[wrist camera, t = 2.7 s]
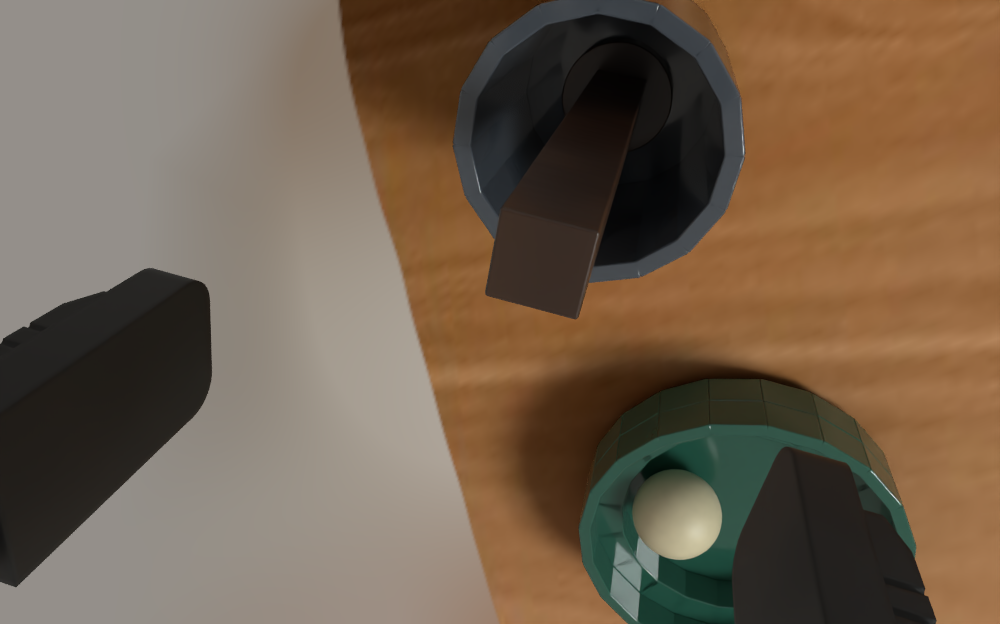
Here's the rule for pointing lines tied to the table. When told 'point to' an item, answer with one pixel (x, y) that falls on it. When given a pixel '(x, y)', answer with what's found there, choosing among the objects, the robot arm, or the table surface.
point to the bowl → (731, 474)
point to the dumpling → (677, 514)
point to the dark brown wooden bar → (578, 177)
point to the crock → (646, 171)
